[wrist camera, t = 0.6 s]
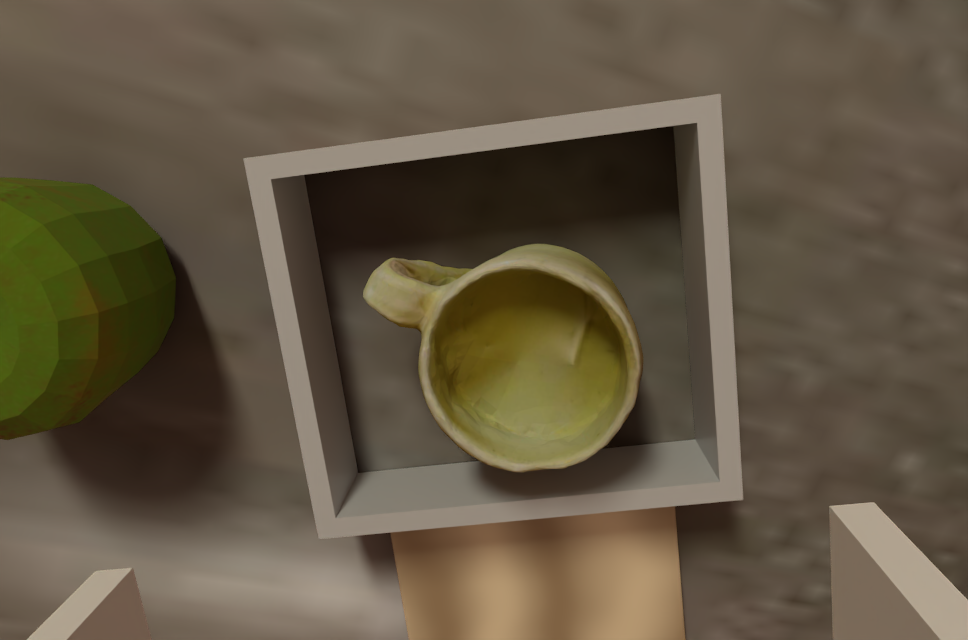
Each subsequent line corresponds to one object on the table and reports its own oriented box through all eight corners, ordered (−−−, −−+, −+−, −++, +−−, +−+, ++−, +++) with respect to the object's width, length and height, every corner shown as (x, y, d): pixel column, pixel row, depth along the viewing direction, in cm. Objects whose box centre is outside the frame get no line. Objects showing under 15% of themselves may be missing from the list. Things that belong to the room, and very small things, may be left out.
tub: (343, 491, 41) (318, 539, 36) (280, 156, 37) (243, 158, 32) (715, 455, 39) (743, 499, 34) (693, 100, 35) (720, 94, 30)
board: (432, 742, 44) (429, 758, 43) (392, 512, 41) (388, 523, 40) (688, 724, 43) (693, 740, 42) (669, 485, 40) (674, 496, 38)
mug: (712, 304, 35) (676, 392, 27) (580, 432, 41) (515, 540, 32) (518, 137, 36) (424, 171, 28) (414, 284, 41) (308, 350, 33)
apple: (-15, 161, 37) (-226, 169, 27) (197, 184, 37) (67, 202, 27) (-3, 372, 40) (-191, 454, 30) (194, 395, 40) (75, 487, 29)
